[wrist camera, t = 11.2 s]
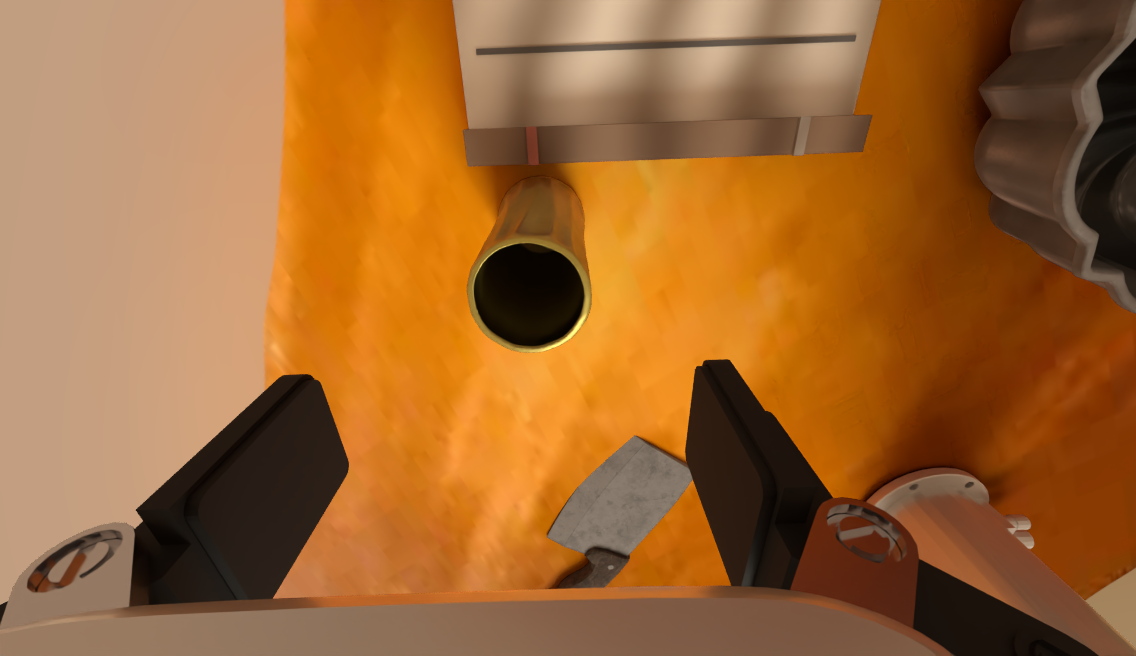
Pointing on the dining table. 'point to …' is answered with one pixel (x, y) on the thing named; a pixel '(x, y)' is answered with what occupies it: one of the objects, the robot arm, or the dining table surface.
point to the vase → (533, 269)
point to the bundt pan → (1067, 139)
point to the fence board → (661, 78)
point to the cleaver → (618, 509)
